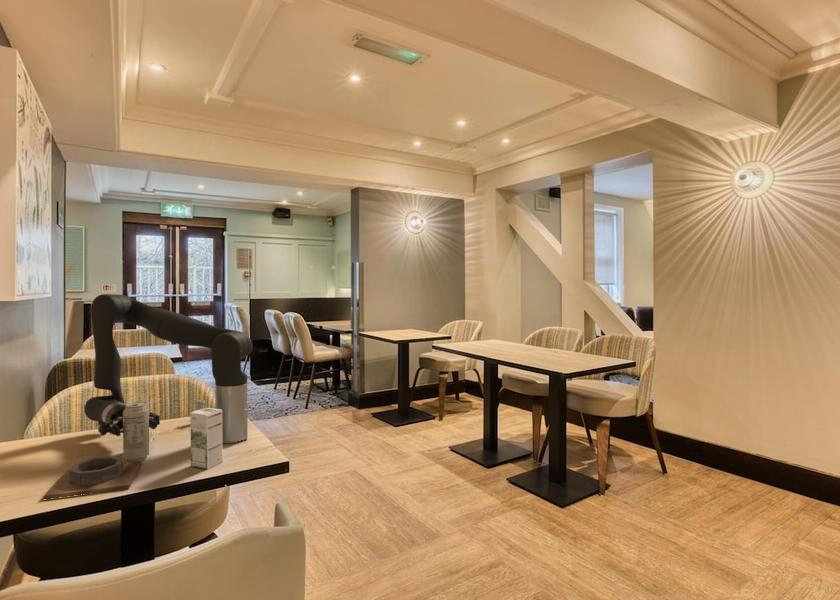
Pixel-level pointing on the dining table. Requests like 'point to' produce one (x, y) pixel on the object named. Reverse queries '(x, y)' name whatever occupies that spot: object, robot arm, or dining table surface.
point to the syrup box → (206, 438)
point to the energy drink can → (135, 432)
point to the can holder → (95, 477)
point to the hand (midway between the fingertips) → (137, 428)
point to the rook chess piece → (200, 404)
